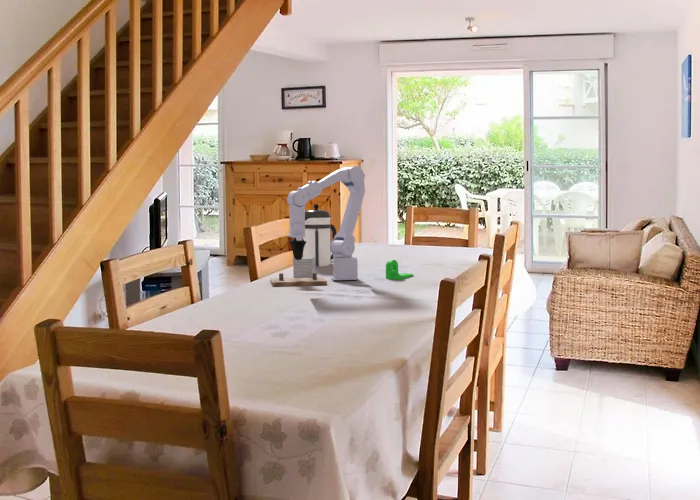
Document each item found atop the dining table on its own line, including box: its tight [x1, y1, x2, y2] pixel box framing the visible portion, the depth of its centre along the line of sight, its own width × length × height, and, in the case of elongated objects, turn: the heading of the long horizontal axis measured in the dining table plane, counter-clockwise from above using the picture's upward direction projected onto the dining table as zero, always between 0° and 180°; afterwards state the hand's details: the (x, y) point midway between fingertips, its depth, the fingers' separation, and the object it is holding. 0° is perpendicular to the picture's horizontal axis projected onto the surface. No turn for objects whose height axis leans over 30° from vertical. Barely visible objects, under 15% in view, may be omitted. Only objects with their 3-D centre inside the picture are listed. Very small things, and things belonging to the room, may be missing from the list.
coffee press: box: [302, 203, 338, 267], centre depth 338 cm, size 17×16×30 cm
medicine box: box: [292, 257, 316, 278], centre depth 307 cm, size 8×4×9 cm, turn 75°
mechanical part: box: [385, 259, 414, 281], centre depth 305 cm, size 12×6×8 cm, turn 140°
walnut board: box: [269, 272, 328, 288], centre depth 291 cm, size 20×15×4 cm
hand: (297, 259), depth 290 cm, fingers open, 7 cm apart
